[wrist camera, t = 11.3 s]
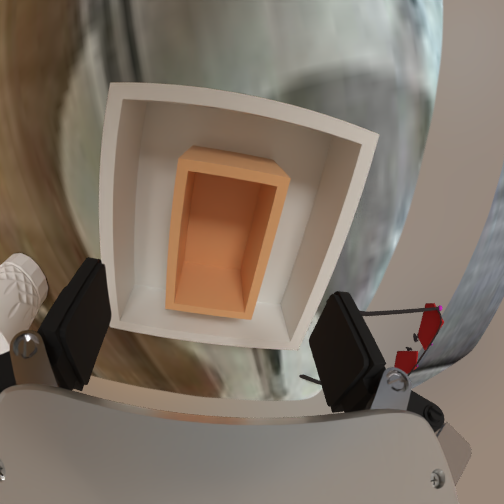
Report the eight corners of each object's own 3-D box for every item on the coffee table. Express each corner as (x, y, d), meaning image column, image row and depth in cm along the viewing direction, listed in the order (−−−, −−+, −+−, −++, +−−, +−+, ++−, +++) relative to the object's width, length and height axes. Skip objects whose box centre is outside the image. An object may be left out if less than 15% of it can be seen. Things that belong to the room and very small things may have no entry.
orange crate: (192, 145, 18) (178, 158, 13) (273, 159, 19) (290, 178, 14) (177, 263, 23) (165, 308, 18) (245, 273, 24) (251, 319, 19)
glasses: (393, 362, 37) (405, 386, 32) (298, 374, 34) (305, 404, 30) (433, 293, 30) (452, 317, 26) (326, 296, 28) (341, 329, 24)
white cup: (63, 298, 25) (25, 362, 16) (28, 308, 25) (-6, 362, 17) (29, 238, 21) (-25, 294, 12) (-3, 257, 22) (-47, 306, 13)
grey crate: (141, 89, 16) (110, 82, 11) (342, 127, 19) (379, 134, 14) (128, 285, 25) (110, 327, 19) (285, 306, 27) (297, 350, 22)
